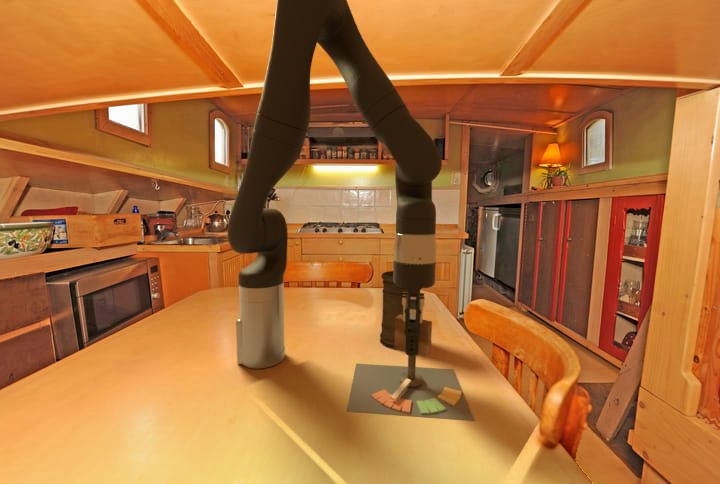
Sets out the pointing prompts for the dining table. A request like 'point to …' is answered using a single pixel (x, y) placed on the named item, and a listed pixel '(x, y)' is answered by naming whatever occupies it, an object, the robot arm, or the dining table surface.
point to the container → (390, 308)
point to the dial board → (408, 393)
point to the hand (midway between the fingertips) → (411, 349)
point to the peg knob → (423, 350)
